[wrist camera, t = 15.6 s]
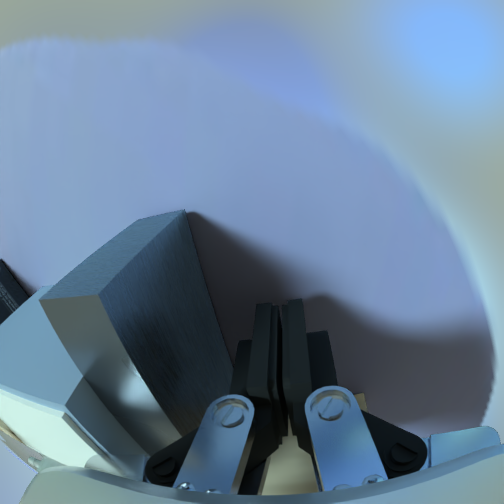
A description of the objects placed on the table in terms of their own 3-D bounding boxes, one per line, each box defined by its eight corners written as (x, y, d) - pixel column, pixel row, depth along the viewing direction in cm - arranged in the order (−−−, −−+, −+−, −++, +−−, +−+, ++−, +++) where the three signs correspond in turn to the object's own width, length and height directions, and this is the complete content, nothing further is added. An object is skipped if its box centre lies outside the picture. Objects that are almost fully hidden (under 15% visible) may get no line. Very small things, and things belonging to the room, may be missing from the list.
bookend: (207, 395, 14) (184, 487, 9) (137, 219, 10) (38, 299, 5) (242, 395, 14) (228, 492, 9) (184, 209, 10) (98, 294, 5)
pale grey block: (83, 360, 15) (28, 448, 8) (43, 286, 13) (-41, 368, 6) (196, 364, 14) (155, 496, 7) (159, 269, 12) (60, 411, 5)
